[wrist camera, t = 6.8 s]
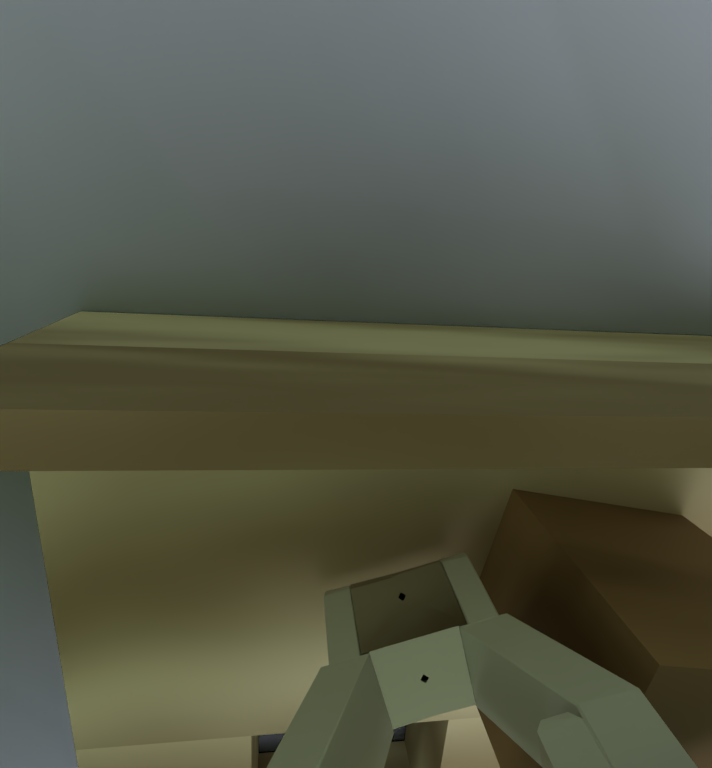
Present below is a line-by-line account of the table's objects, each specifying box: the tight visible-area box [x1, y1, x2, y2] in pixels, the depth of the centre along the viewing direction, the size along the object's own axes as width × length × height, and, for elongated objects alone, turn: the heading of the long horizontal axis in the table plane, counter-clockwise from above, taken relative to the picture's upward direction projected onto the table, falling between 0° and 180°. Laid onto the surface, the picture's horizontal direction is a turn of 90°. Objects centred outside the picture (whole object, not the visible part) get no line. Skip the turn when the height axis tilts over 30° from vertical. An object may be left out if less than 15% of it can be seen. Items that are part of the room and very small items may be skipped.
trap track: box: [0, 311, 712, 768], centre depth 12 cm, size 16×23×7 cm
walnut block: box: [476, 489, 712, 768], centre depth 9 cm, size 4×4×4 cm
